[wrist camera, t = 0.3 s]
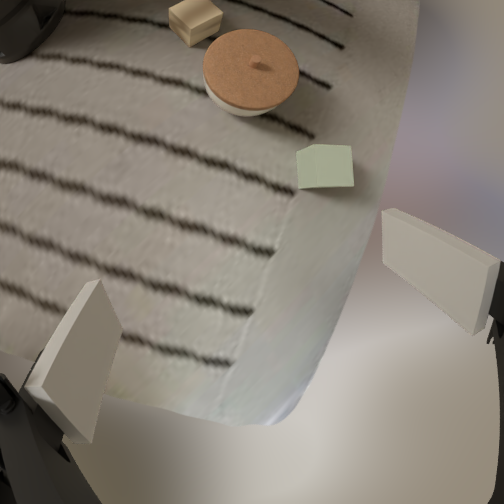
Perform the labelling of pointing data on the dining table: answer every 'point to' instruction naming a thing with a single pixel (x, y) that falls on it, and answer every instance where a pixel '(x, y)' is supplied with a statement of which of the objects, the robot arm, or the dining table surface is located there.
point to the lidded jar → (249, 72)
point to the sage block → (325, 166)
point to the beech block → (194, 20)
